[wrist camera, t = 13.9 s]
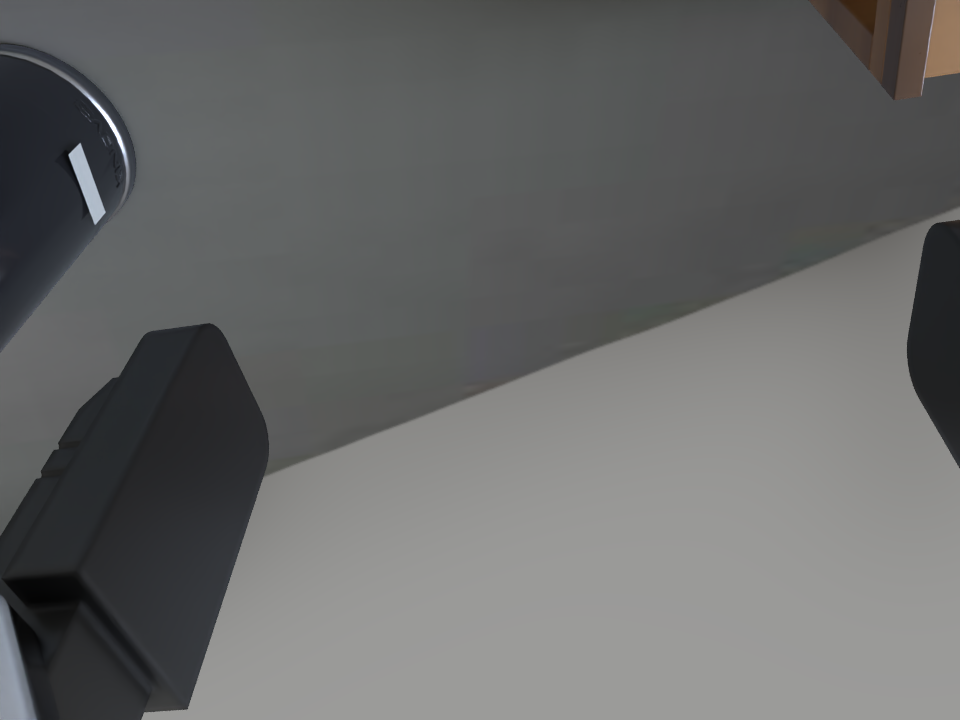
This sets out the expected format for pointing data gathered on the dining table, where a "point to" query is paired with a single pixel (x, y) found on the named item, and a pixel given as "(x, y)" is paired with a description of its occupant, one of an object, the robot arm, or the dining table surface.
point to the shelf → (899, 39)
